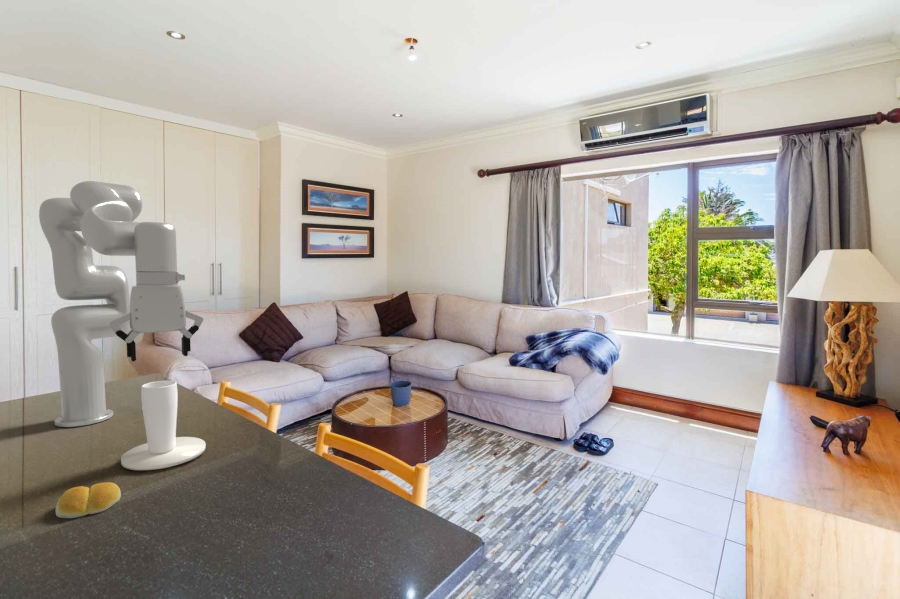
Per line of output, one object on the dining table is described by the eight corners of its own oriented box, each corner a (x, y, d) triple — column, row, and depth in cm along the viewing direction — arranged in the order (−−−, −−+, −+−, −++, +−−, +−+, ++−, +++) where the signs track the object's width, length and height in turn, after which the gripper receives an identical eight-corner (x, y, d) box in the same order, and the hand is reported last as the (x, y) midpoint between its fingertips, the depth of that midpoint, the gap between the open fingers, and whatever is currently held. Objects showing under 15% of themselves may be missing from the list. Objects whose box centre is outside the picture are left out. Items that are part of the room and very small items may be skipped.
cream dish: (119, 454, 103) (118, 447, 103) (198, 437, 113) (198, 431, 113) (123, 480, 91) (123, 473, 90) (212, 459, 101) (212, 452, 100)
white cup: (163, 457, 98) (160, 388, 97) (136, 454, 99) (132, 387, 98) (186, 445, 104) (184, 381, 103) (161, 443, 106) (158, 379, 105)
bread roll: (120, 509, 80) (119, 487, 80) (53, 525, 75) (51, 502, 75) (122, 490, 87) (121, 470, 87) (61, 503, 82) (59, 482, 82)
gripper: (198, 278, 107) (200, 350, 109) (106, 279, 96) (110, 359, 98) (205, 280, 101) (207, 356, 103) (108, 281, 91) (111, 366, 92)
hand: (159, 357), depth 100 cm, fingers open, 9 cm apart
